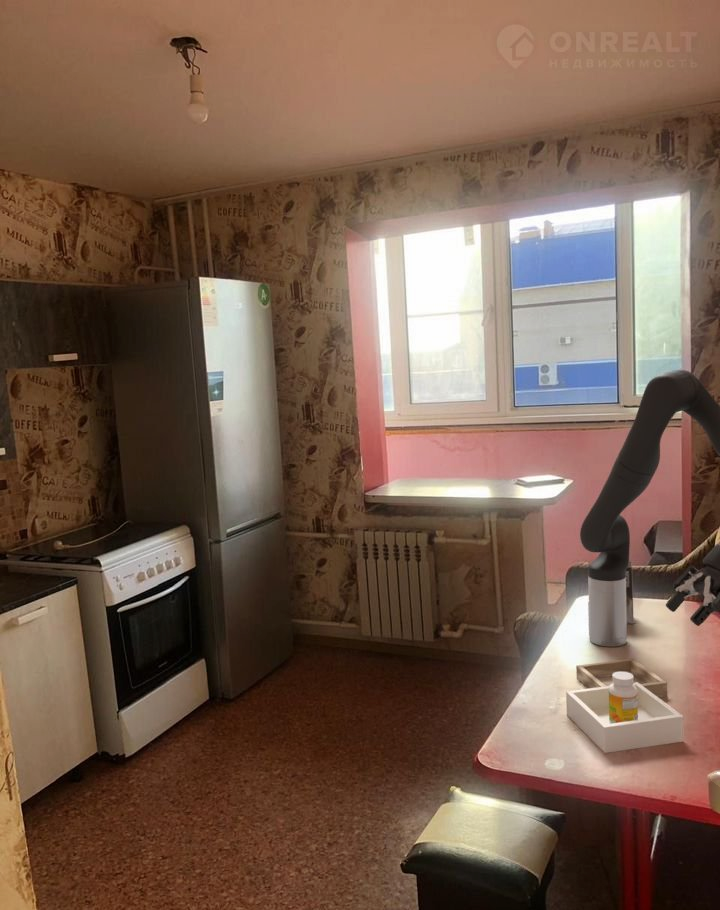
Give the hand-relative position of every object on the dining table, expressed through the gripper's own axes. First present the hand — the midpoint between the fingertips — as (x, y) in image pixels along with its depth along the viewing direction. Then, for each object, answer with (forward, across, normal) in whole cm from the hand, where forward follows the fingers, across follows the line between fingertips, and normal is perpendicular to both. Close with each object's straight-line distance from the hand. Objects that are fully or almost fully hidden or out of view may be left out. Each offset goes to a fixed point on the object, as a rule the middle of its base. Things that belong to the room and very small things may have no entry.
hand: (681, 615), depth 149 cm
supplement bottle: (+24, +3, +4) cm, 24 cm away
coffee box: (+4, -54, +25) cm, 60 cm away
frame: (+19, -14, +10) cm, 25 cm away
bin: (+25, +3, +4) cm, 25 cm away
